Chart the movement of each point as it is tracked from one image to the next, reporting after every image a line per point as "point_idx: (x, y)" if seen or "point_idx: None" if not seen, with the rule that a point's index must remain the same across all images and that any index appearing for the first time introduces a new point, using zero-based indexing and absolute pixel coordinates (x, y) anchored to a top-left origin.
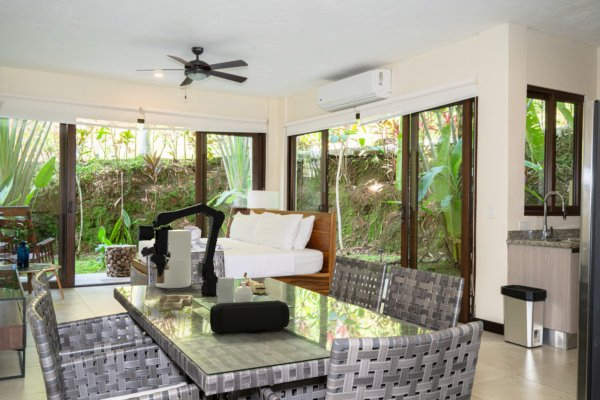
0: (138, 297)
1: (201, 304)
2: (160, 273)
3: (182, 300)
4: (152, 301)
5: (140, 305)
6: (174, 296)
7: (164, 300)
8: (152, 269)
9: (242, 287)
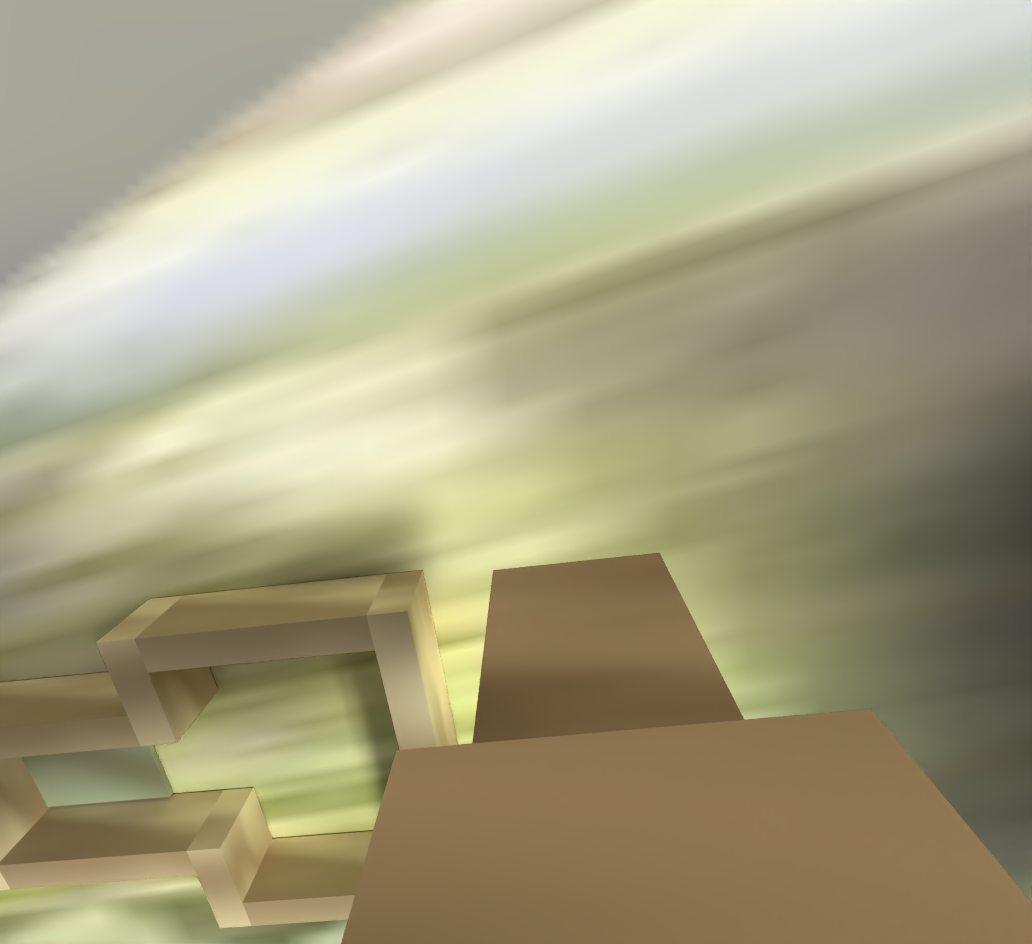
0: (634, 130)
1: (315, 935)
2: None
3: (132, 878)
4: (353, 456)
5: (54, 380)
6: (402, 744)
7: (130, 688)
8: (406, 784)
9: None
